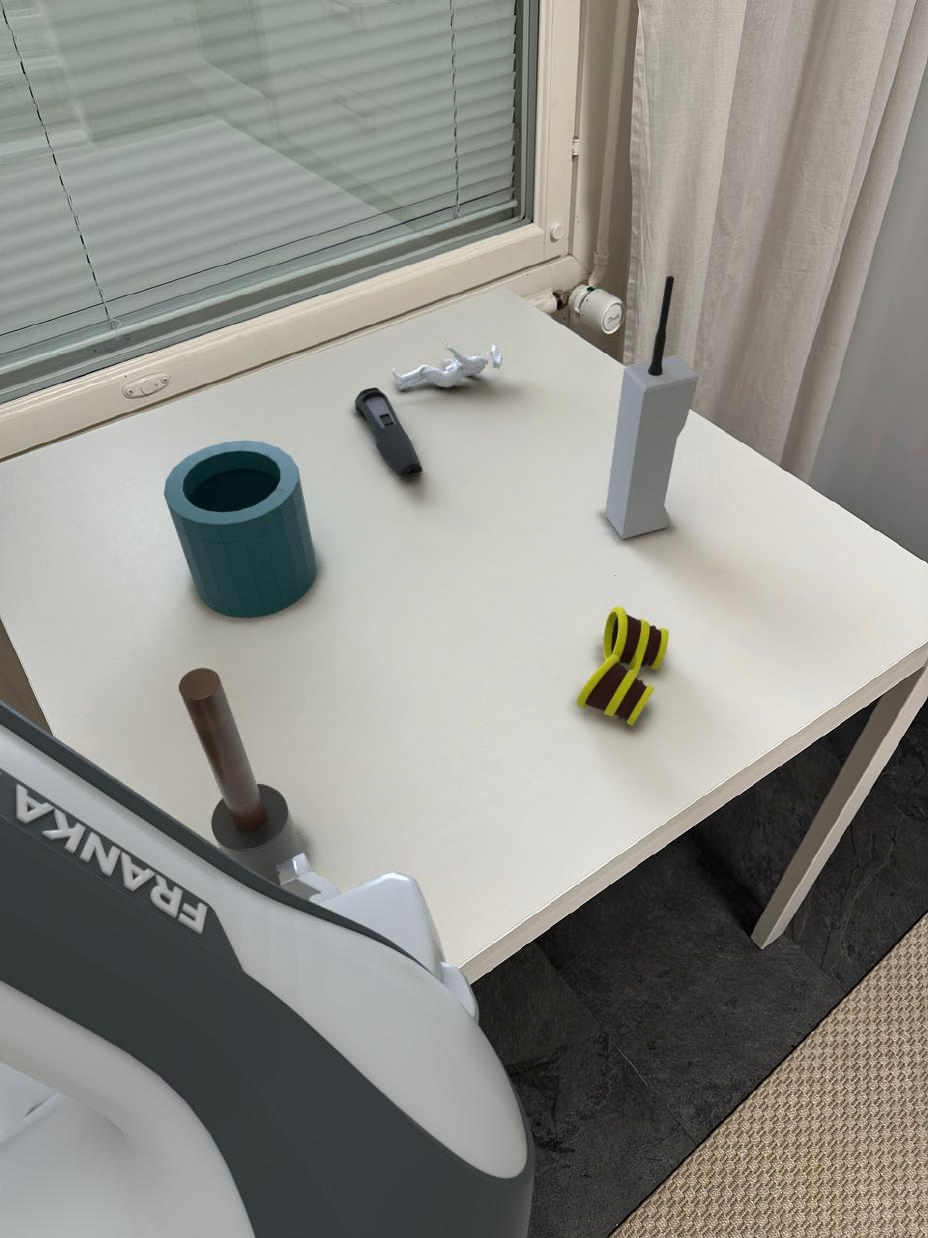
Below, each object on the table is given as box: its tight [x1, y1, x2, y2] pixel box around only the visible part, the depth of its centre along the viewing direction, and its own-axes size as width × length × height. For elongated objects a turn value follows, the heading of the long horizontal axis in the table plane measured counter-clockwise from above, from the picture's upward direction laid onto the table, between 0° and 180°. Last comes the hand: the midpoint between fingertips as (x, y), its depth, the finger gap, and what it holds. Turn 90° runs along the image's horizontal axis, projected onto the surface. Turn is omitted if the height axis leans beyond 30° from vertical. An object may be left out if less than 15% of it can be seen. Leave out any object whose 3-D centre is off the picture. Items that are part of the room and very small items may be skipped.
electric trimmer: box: [354, 387, 423, 478], centre depth 94 cm, size 4×16×3 cm, turn 21°
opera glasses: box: [576, 606, 670, 727], centre depth 71 cm, size 10×5×5 cm, turn 159°
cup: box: [163, 439, 317, 619], centre depth 78 cm, size 11×11×11 cm
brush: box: [178, 667, 302, 887], centre depth 55 cm, size 5×5×20 cm
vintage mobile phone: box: [604, 275, 699, 540], centre depth 77 cm, size 4×5×25 cm
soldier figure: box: [392, 343, 503, 391], centre depth 101 cm, size 8×5×12 cm
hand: (204, 907), depth 44 cm, fingers open, 8 cm apart
